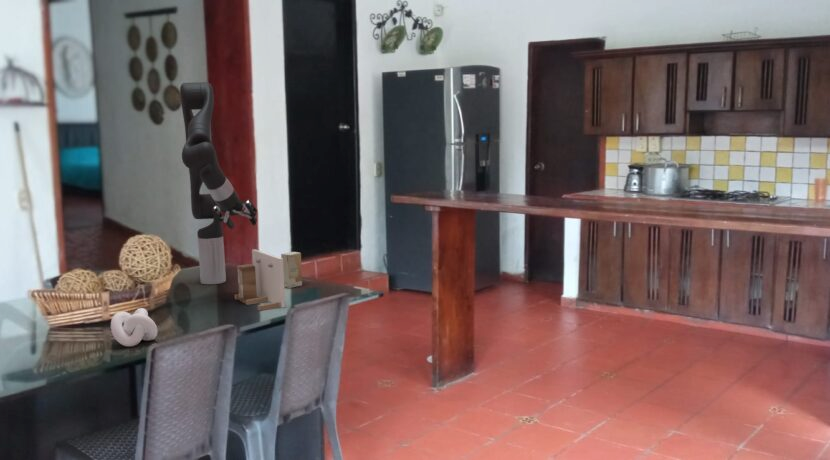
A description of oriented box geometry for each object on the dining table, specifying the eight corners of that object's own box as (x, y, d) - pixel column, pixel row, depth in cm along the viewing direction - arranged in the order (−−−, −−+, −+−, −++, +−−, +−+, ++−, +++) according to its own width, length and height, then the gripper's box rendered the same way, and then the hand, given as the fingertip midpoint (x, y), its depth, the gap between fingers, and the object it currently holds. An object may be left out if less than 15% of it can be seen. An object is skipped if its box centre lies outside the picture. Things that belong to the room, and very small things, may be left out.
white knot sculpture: (112, 339, 219) (110, 308, 217) (157, 333, 223) (154, 303, 222) (112, 350, 208) (109, 318, 207) (158, 344, 212) (156, 313, 211)
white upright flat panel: (233, 298, 263) (231, 252, 261) (257, 294, 268) (255, 249, 265) (260, 311, 245) (257, 262, 243) (285, 306, 250) (282, 258, 248)
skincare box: (290, 288, 276) (288, 255, 274) (281, 287, 279) (280, 253, 277) (303, 285, 281) (301, 252, 279) (294, 283, 284) (293, 251, 282)
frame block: (238, 300, 260) (236, 265, 258) (251, 298, 262) (249, 264, 261) (244, 303, 256) (241, 268, 254) (257, 301, 259) (255, 266, 257)
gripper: (244, 181, 257) (264, 215, 268) (206, 188, 261) (228, 221, 272) (239, 196, 252) (260, 230, 263) (200, 203, 256) (222, 236, 267)
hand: (243, 225), depth 267 cm, fingers open, 8 cm apart
